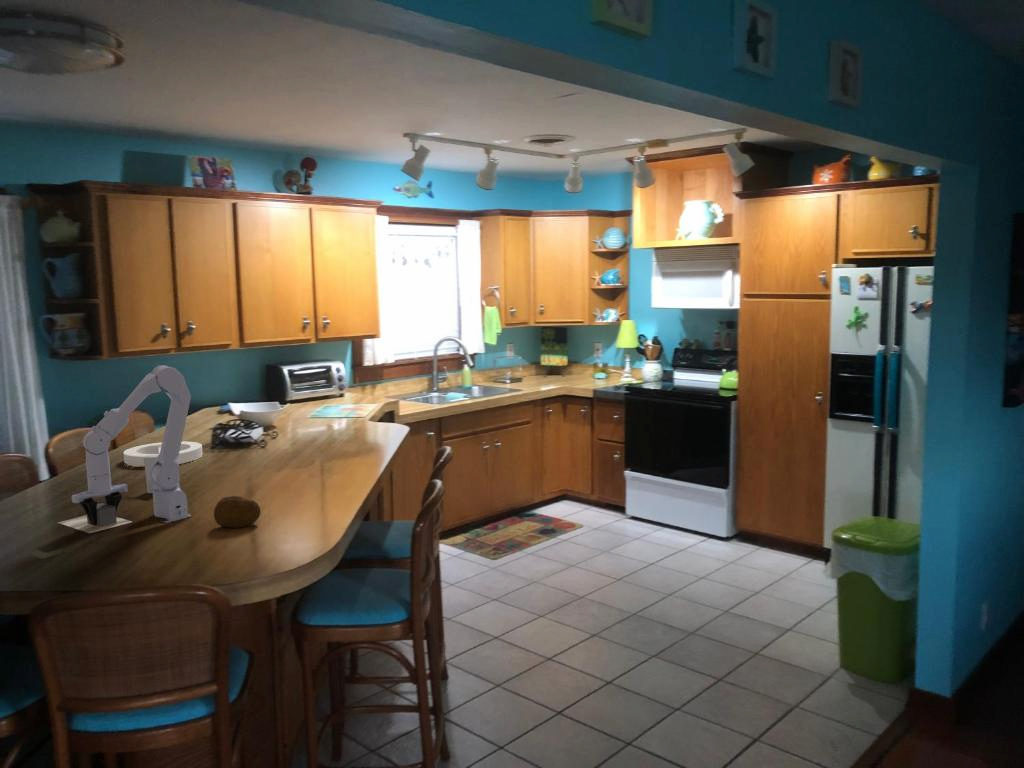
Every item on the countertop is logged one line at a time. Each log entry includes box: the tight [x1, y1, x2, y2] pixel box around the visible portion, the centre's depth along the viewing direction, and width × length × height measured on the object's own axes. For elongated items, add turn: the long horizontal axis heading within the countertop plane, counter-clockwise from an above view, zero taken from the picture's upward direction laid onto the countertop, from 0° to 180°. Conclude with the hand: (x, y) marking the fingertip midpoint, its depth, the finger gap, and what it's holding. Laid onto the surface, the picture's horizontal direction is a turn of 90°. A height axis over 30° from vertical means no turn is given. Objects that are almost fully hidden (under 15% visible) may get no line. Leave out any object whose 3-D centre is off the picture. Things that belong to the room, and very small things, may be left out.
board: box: [57, 514, 133, 534], centre depth 221 cm, size 18×12×1 cm, turn 55°
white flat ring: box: [122, 440, 204, 466], centre depth 306 cm, size 28×28×5 cm
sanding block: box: [87, 502, 117, 528], centre depth 219 cm, size 7×4×5 cm, turn 55°
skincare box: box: [144, 455, 158, 494], centre depth 257 cm, size 6×4×12 cm
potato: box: [213, 495, 261, 529], centre depth 218 cm, size 8×12×9 cm
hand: (102, 522), depth 218 cm, fingers closed on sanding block, 4 cm apart
